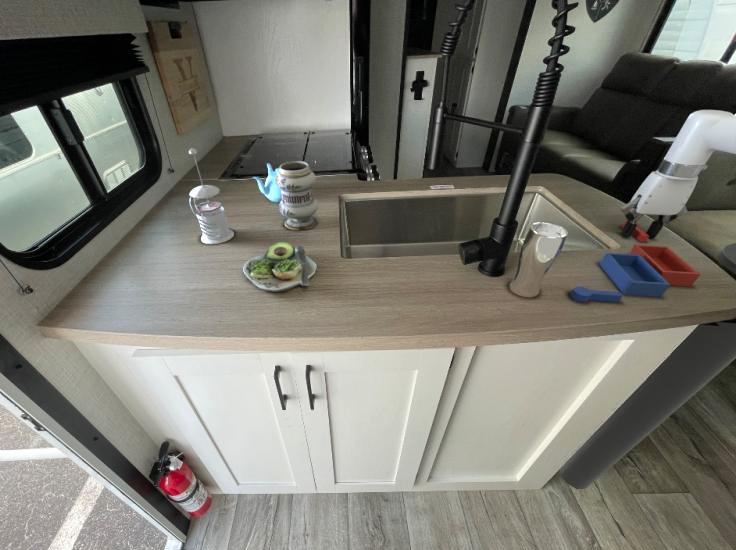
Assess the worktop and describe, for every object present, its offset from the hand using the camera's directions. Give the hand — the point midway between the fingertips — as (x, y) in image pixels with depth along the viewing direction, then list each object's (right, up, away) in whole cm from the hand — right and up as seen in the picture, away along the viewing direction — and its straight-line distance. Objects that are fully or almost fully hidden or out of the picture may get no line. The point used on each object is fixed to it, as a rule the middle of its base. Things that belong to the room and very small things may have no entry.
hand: (637, 234), depth 90 cm
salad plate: (-99, -11, -7) cm, 99 cm away
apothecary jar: (-96, +6, +13) cm, 97 cm away
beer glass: (-41, -16, -16) cm, 47 cm away
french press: (-121, +1, +9) cm, 122 cm away
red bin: (-7, -11, -12) cm, 18 cm away
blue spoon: (-28, -18, -20) cm, 39 cm away
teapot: (-105, +20, +30) cm, 111 cm away
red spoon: (0, +1, +1) cm, 2 cm away
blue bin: (-16, -13, -15) cm, 26 cm away
